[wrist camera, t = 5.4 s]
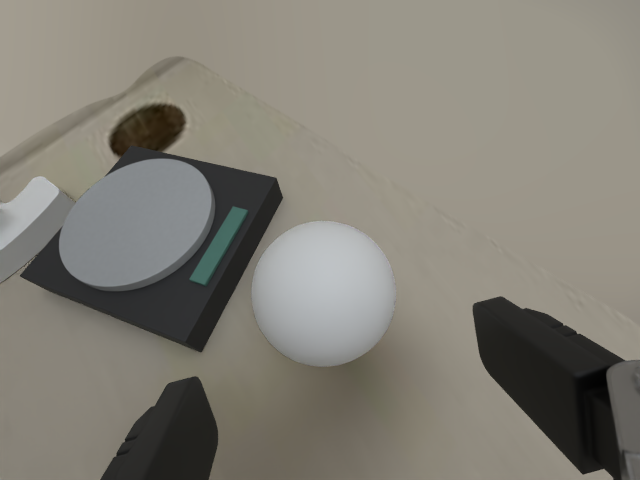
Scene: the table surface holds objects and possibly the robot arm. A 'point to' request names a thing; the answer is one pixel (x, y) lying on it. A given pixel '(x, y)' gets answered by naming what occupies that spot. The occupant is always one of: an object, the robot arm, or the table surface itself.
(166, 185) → the scale
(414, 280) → the table surface
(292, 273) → the lightbulb
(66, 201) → the joystick
